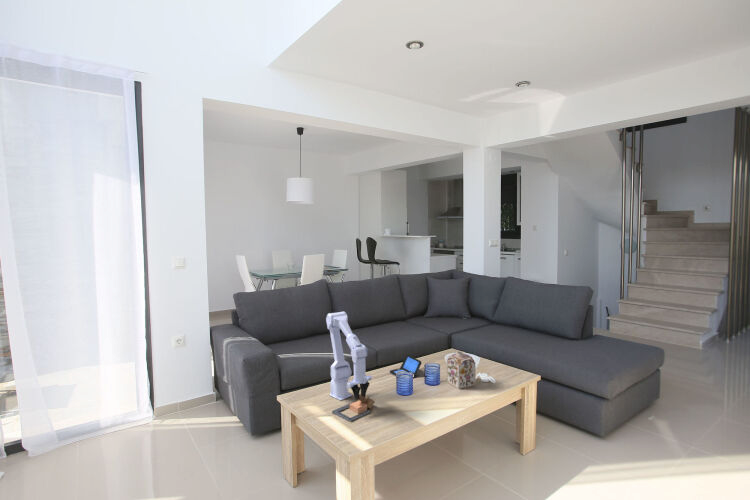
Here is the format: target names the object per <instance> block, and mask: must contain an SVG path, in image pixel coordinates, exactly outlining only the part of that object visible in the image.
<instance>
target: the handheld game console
mask: <svg viewBox="0 0 750 500" xmlns="http://www.w3.org/2000/svg"><path fill="white" fill-rule="evenodd" d="M421 365H422V361H421V360H419V359H418V358H416V357H413V356H411V355H409V354H407V355H405V357H404V358H403V361H402V363H401V366H400V367H399V368H394V369H390V370H389V373H390V374H392V375H393V376H394V377H397V376H396V373H397V372H399V371H406V372H412V373H413V374H414V378H413V379H416V378H417V374H418V372H419V370H420V368H421Z"/></svg>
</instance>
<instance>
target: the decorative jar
mask: <svg viewBox="0 0 750 500" xmlns="http://www.w3.org/2000/svg"><path fill="white" fill-rule="evenodd" d="M476 375H477V374H476V361H475V360H474V358H473V357H472V355H469V354H467V353H466V352H465V351H457V352H456V353H452V354H451V355H449V357H448V358H447V359H446V383H448V384H449V385H451V386H452V387H454V388H456V389H458V390H461V389H465V388H469V387H475V386H476Z"/></svg>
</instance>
